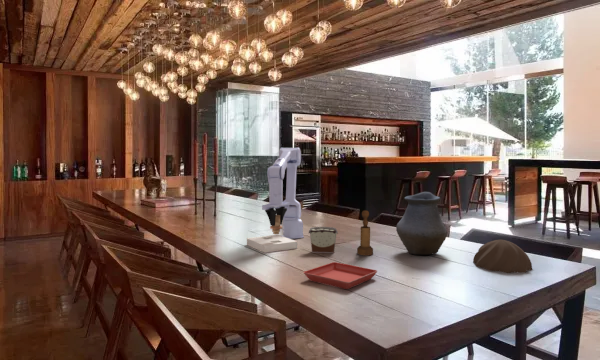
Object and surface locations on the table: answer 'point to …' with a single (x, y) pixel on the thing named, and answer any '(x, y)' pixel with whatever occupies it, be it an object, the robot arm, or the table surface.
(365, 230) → the brown wooden tall figure
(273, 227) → the oak peg
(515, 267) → the decorative dome
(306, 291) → the table surface
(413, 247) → the grey ceramic jar
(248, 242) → the hole board
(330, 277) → the plant saucer
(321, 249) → the food container
